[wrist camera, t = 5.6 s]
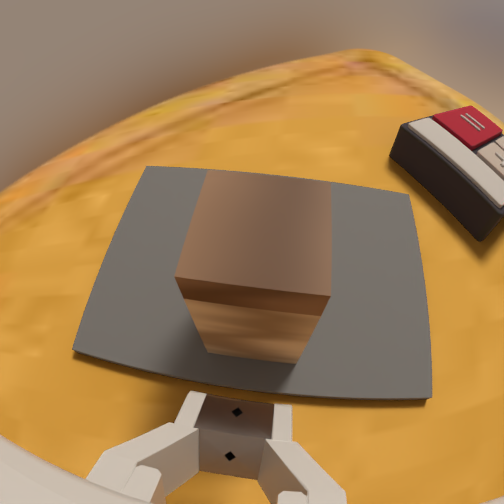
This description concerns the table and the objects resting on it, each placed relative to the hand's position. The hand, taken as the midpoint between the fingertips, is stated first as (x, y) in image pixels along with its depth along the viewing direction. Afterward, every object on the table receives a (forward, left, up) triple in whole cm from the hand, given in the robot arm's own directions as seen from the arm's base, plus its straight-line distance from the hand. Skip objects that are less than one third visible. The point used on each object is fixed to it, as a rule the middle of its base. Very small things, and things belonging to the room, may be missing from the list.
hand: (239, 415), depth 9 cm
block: (0, +6, -6) cm, 8 cm away
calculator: (+18, +22, -7) cm, 30 cm away
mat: (0, +9, -7) cm, 11 cm away
